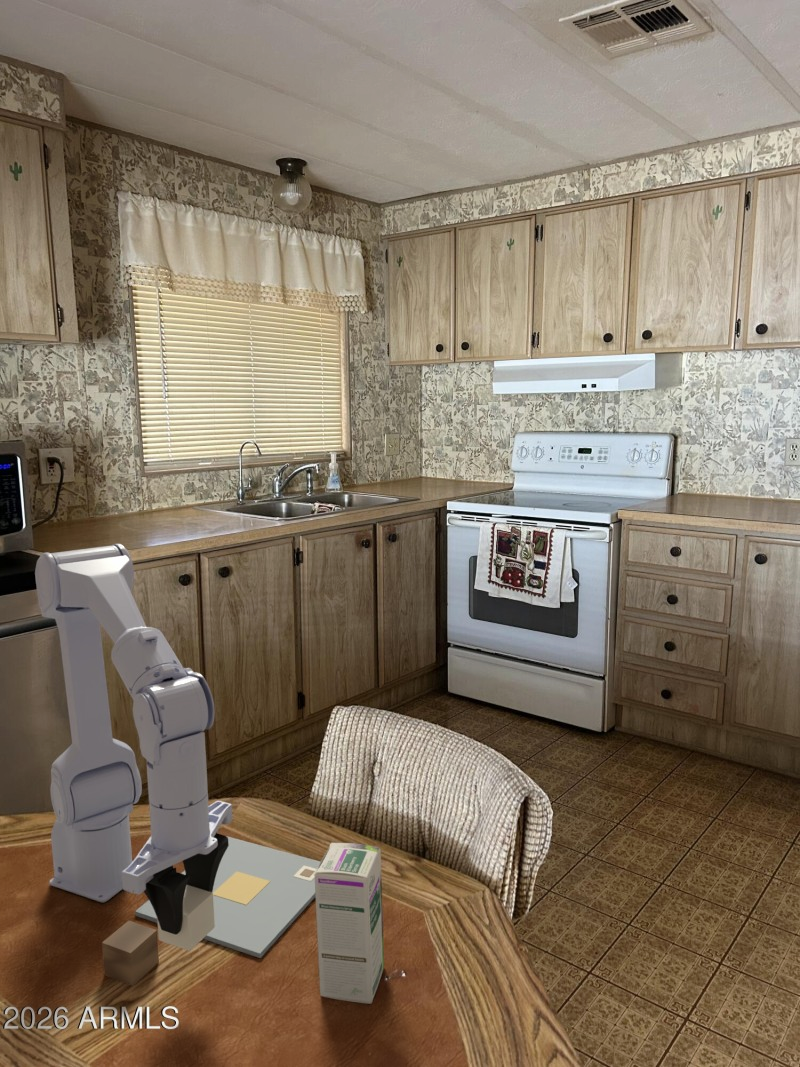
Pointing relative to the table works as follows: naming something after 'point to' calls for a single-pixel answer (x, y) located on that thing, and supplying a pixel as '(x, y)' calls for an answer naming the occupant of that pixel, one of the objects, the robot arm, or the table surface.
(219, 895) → the board
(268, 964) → the table surface
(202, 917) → the cream block
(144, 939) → the walnut block
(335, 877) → the syrup box
